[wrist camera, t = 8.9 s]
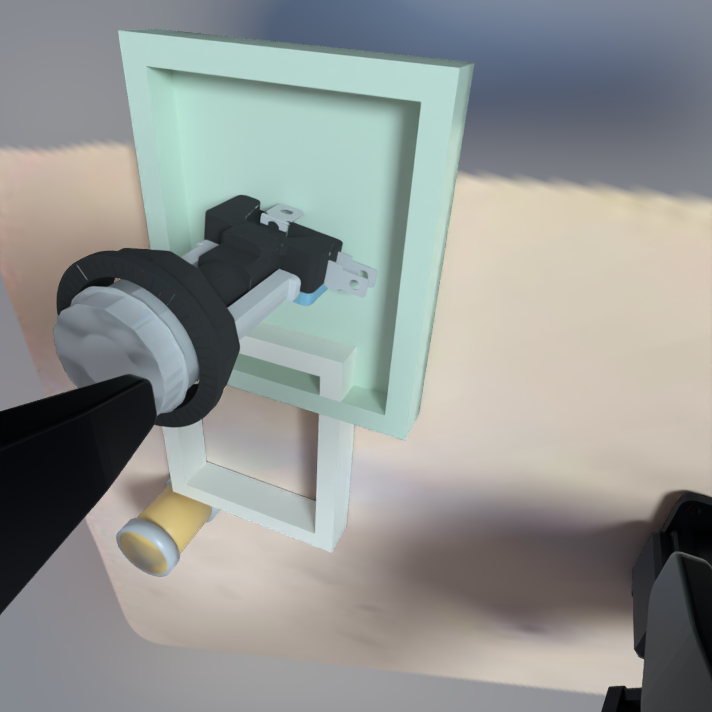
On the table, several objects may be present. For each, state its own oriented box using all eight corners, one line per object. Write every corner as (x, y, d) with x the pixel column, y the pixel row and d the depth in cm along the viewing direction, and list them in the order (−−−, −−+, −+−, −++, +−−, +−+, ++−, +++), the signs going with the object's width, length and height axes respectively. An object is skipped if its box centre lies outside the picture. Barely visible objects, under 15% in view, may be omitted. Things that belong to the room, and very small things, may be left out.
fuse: (220, 480, 33) (166, 543, 29) (224, 520, 35) (174, 585, 31) (169, 461, 34) (111, 520, 30) (176, 502, 36) (122, 562, 32)
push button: (397, 211, 20) (251, 342, 12) (365, 331, 23) (233, 498, 15) (237, 154, 21) (12, 238, 13) (227, 275, 24) (40, 401, 17)
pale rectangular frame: (361, 340, 24) (343, 363, 23) (346, 529, 31) (331, 557, 29) (169, 289, 27) (141, 306, 25) (194, 473, 34) (173, 496, 32)
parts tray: (474, 62, 17) (459, 67, 16) (418, 413, 25) (405, 440, 23) (156, 28, 21) (117, 30, 19) (193, 346, 28) (168, 366, 27)
